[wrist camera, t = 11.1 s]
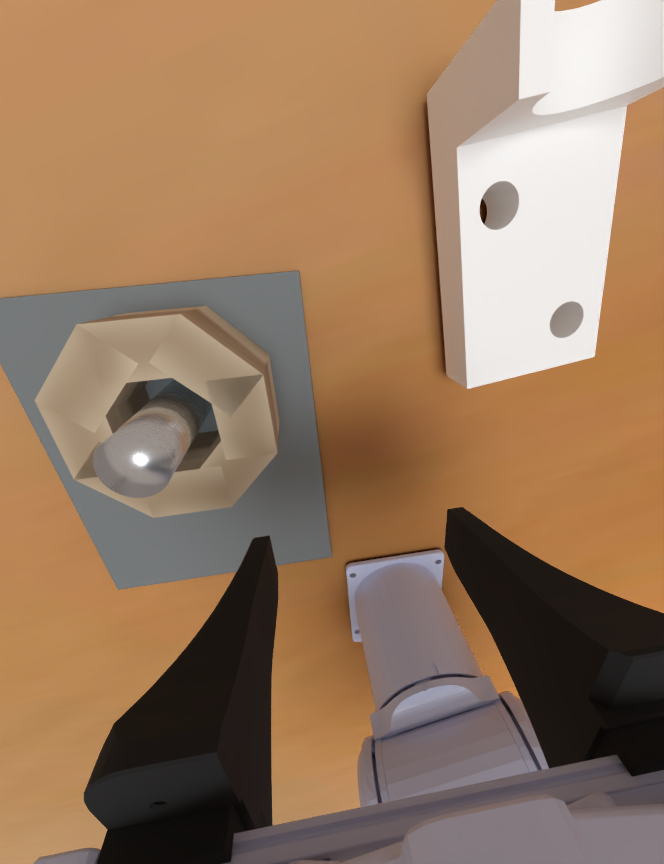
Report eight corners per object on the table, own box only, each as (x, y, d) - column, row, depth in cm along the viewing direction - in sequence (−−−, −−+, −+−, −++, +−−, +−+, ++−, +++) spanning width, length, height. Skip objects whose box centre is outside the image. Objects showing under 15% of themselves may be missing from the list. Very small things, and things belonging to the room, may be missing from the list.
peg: (219, 414, 20) (179, 492, 13) (174, 420, 20) (109, 502, 13) (208, 372, 19) (158, 431, 12) (161, 377, 19) (80, 441, 11)
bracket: (419, 104, 15) (521, -33, 9) (566, 67, 15) (784, -96, 9) (440, 372, 21) (512, 417, 14) (548, 344, 21) (671, 377, 14)
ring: (286, 457, 22) (285, 499, 18) (134, 477, 21) (97, 525, 17) (260, 299, 18) (251, 306, 13) (69, 318, 17) (-1, 331, 13)
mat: (331, 554, 26) (331, 556, 26) (119, 586, 25) (118, 589, 25) (298, 270, 17) (298, 270, 17) (-27, 301, 16) (-32, 301, 16)
